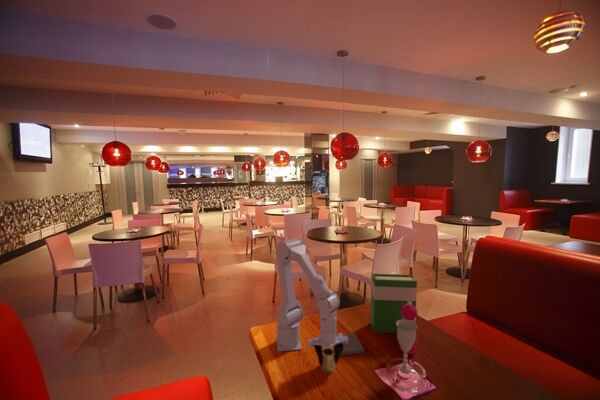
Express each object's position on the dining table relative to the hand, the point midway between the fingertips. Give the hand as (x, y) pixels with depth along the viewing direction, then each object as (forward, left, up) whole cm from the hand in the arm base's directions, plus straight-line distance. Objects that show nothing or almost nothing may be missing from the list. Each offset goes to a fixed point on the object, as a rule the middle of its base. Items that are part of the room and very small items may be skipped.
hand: (327, 362), depth 100 cm
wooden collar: (0, 0, -2) cm, 2 cm away
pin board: (+8, +11, -2) cm, 14 cm away
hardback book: (+35, +20, -2) cm, 40 cm away
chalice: (+26, -7, -2) cm, 27 cm away
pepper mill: (+34, +5, -2) cm, 34 cm away
